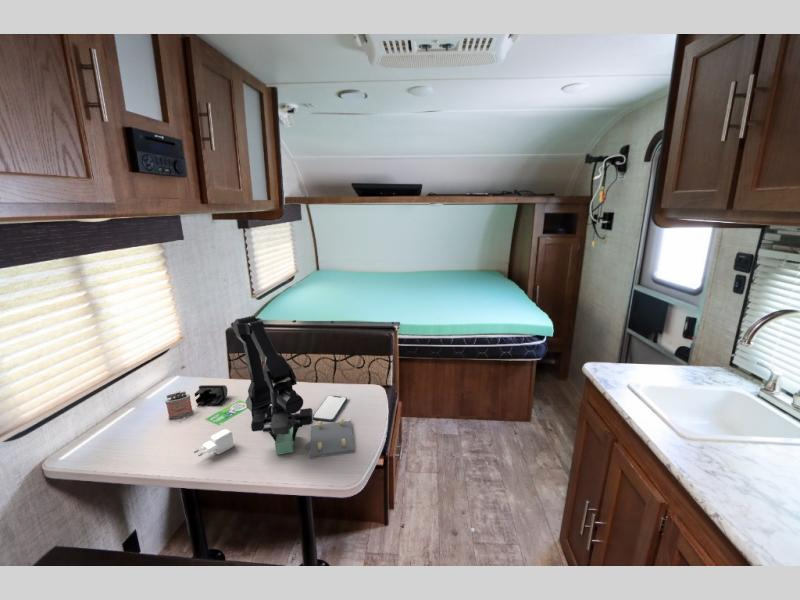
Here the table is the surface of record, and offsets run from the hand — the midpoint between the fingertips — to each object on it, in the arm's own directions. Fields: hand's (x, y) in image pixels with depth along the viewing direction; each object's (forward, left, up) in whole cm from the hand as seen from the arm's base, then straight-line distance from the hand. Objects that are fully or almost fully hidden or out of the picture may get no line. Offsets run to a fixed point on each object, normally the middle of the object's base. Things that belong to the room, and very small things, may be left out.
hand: (285, 441), depth 121 cm
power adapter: (-22, +1, -2) cm, 22 cm away
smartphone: (+15, +19, -2) cm, 24 cm away
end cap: (-32, +35, -2) cm, 47 cm away
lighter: (-41, +27, -2) cm, 49 cm away
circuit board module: (0, 0, -1) cm, 1 cm away
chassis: (+15, 0, -2) cm, 15 cm away
